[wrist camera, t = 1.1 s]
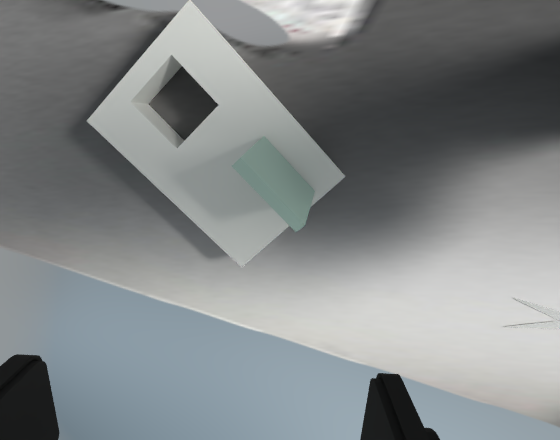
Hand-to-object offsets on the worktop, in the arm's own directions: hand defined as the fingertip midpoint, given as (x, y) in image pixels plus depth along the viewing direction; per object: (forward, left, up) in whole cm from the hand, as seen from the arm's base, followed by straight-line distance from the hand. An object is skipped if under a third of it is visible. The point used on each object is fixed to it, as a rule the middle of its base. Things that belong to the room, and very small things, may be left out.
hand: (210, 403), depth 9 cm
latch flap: (-3, -1, -20) cm, 20 cm away
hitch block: (-1, -7, -27) cm, 28 cm away
